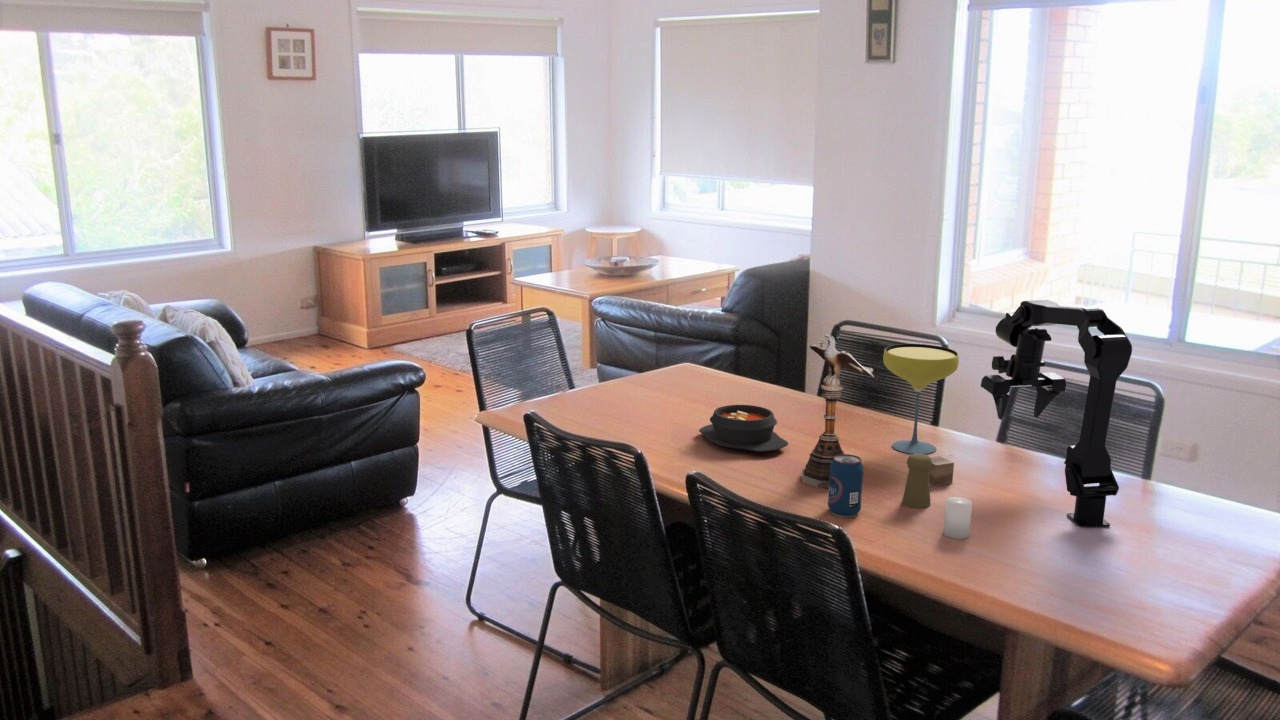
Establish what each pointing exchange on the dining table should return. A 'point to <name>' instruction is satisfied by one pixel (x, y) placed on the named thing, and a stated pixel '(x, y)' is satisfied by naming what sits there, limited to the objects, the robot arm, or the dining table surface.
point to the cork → (917, 481)
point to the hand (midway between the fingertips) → (1017, 417)
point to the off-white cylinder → (957, 517)
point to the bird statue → (829, 413)
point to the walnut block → (941, 471)
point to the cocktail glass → (919, 378)
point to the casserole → (744, 428)
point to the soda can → (845, 485)
